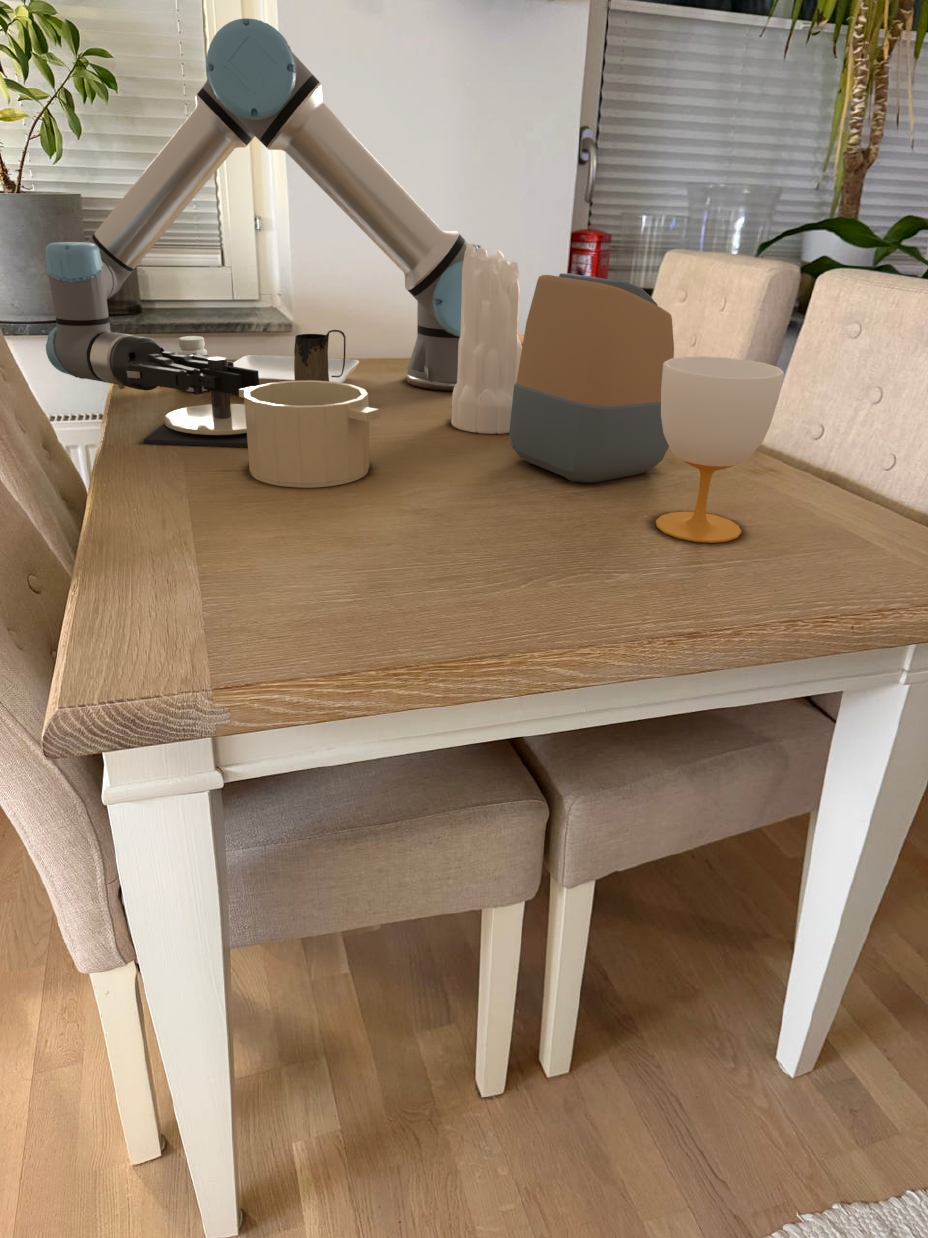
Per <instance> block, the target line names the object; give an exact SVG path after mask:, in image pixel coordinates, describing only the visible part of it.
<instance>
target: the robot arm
mask: <svg viewBox="0 0 928 1238" xmlns="http://www.w3.org/2000/svg"><path fill="white" fill-rule="evenodd" d="M205 69H206V76H207V79H206V80H205V82H204V84H203V85H202V87H201V88H200V90H199V91H198V92H197V93H196V95H195V97H194V98H195V108H194V110H193V111H192V112H191V113H190V114H189V115H188V117H187V118H186V120H185V121H184V122H183V123H182V124H181V125H180V126H179V128H178V129H177V130H176V132H175V133H174V134H173V136H172V137H171V138H170V139H169V140H168V142H167V143H166V144H165V145H164V146H163V148H162V149H161V150H160V151H159V153H158V154H157V155H156V156H155V158H154V159H153V160H152V161H151V162H150V163H149V165H148V166H147V167H146V168H145V170H144V171H143V173H142V174H141V175H139V177H138V179H137V180H136V181H135V183H133V185H132V186H131V187H130V188H129V190H128V191H127V192H126V193H125V195H124V196H123V197H122V198H121V199H120V201H118V202H117V205H116V206H115V207H114V208H113V209H112V210H111V212H110V213H109V214H108V216H107V217H106V218H105V219H104V221H102V223H101V224H100V226H99V227H98V228H97V229H96V230H95V232H94V233H93V235H92V236H90V237H89V238H88V240H86V242H85V241H58V242H50V243H48V244H47V245H46V247H45V258H46V259H45V261H46V266H45V269H46V272H47V275H48V281H49V287H50V291H51V292H50V293H51V297H52V305H53V309H54V315H55V321H56V322H55V325H56V326H55V327H54V328H53V329H52V330H50V332H49V334H48V335H47V340H46V343H45V353H46V356H47V359H48V361H49V362H50V364H51V365H52V367H54V368H55V370H57V371H59V372H61V373H63V374H66V375H69V376H72V377H74V378H79V379H81V380H84V379H85V380H89V381H97V382H103V383H107V384H111V385H117V387H118V389H120V390H123V389H125V387H127V388H130V389H134V390H140V391H146V392H149V391H152V390H155V389H157V388H158V387H159V388H165V389H166V388H167V389H171V390H172V389H173V390H179V391H183V392H184V391H185V390H188V389H189V388H188V387H190V388H194V392H193V394H194V395H202V394H203V392H202V386H203V387H204V389H207V391H210V390H212V391H217V392H223V393H228V394H230V395H234V396H238V397H239V389H242V388H246V387H251V386H253V387H254V386H258V385H259V376H258V371H256V370H251V369H245V368H239V367H234V365H233V362H234V361H230V360H227V365H228V372H225V371H219V370H213V369H208V358H210V357H211V356H208V357H206V356H202V355H200V354H198V353H192V354H191V355H190V356H186V355H178V353H175V351H169V350H167V351H166V350H165V349H164V348H163V346H162V345H161V344H160V343H159V342H158V341H157V340H155V339H153V338H150V337H145V336H138V335H133V334H130V333H129V334H128V333H122V332H116V331H115V332H114V331H111V323H110V322H111V321H110V315H109V308H108V307H109V306H108V300H110V299H112V298H113V297H114V296H115V295H116V294H117V293H118V292H120V290H121V289H122V286H123V284H124V282H125V281H126V280H127V279H128V277H129V276H130V275H131V274H132V273H133V271H134V270H135V268H136V267H137V266H139V264H140V263H141V262H142V260H143V259H144V258H145V257H146V256H147V255H148V253H149V252H150V251H151V249H152V248H153V247H154V246H155V245H156V244H157V242H159V240H160V239H161V237H163V235H164V234H165V233H166V232H167V230H168V229H170V227H171V226H172V225H173V223H174V222H175V221H176V220H177V218H178V217H179V216H180V215H181V214H182V213H183V211H184V210H185V209H186V208H187V206H188V205H189V204H191V202H192V200H193V199H194V198H195V197H196V196H197V195H198V193H199V192H200V191H201V190H202V189H203V187H204V186H205V185H206V184H207V183H208V182H209V180H211V178H212V177H213V176H214V174H215V173H216V172H217V171H218V169H220V167H221V166H222V165H223V164H224V163H225V161H226V160H227V159H228V158H229V156H230V155H231V154H232V153H233V152H234V150H235V149H237V148H239V149H240V148H246V147H247V146H248V145H249V144H250V142H252V140H253V139H254V138H256V139H257V140H258V141H259V142H260V143H261V144H262V145H263V146H264V147H265V148H266V149H267V150H269V151H283V152H285V153H286V154H287V155H288V156H289V157H290V158H291V159H292V160H293V161H294V162H295V163H296V164H297V166H299V167H300V169H302V171H304V173H305V174H306V175H308V177H309V178H311V179H312V180H313V182H314V183H315V184H316V185H317V186H318V187H319V188H320V189H321V190H322V191H323V192H324V193H325V194H326V195H327V196H328V197H329V198H330V199H331V200H332V201H333V202H334V203H335V204H336V205H337V206H338V207H339V208H340V209H341V210H342V211H343V212H344V213H345V214H346V215H347V216H348V218H350V219H351V220H352V221H353V222H354V223H355V225H356V226H358V227H359V228H360V230H362V232H363V233H364V234H365V235H366V236H367V237H368V238H369V239H370V240H371V241H372V242H373V243H374V244H375V245H376V246H377V247H378V248H379V249H380V250H381V251H382V252H383V253H384V254H385V255H386V256H387V257H388V258H389V259H390V261H392V262H393V263H394V264H395V265H396V267H397V268H399V270H400V271H402V273H403V275H404V288H405V290H406V291H407V292H409V294H410V295H411V296H412V297H413V298H414V299H415V300H416V302H417V306H416V307H417V308H416V311H417V312H416V313H417V318H416V325H417V326H416V327H417V331H416V332H417V333H416V334H417V336H416V340H415V343H414V346H413V350H412V353H411V356H410V360H409V363H408V365H407V370H406V381H407V383H408V384H410V385H411V386H414V387H417V388H422V389H426V390H427V389H428V390H436V391H453V390H454V386H455V384H456V383H457V374H458V343H459V338H460V333H461V296H462V267H463V261H464V255H465V251H466V246H467V245H468V244H469V243H468V242H467V240H466V239H464V237H463V236H462V235H461V234H460V233H459V232H458V231H457V230H444V229H442V228H440V226H439V225H438V224H437V223H436V222H435V221H434V220H433V218H432V217H431V216H429V214H428V213H427V212H426V211H425V210H424V209H423V207H422V206H420V205H419V204H418V202H416V201H415V199H414V198H413V197H412V196H411V195H410V194H409V192H407V191H406V190H405V188H404V187H403V186H402V185H401V184H400V183H399V182H398V181H397V180H396V179H395V178H394V177H393V175H391V174H390V172H389V171H388V170H387V169H386V168H385V167H384V166H383V165H382V164H381V163H380V162H379V160H378V159H377V158H376V157H375V156H374V155H373V154H372V153H371V152H370V150H368V148H366V146H365V145H364V144H363V143H362V142H361V141H360V140H359V139H358V138H357V137H356V136H355V135H354V133H352V131H351V130H350V129H349V128H348V127H347V126H346V125H345V124H344V123H343V122H342V120H340V118H339V117H338V116H336V114H335V113H334V112H333V111H332V110H331V109H330V108H329V107H328V105H326V103H325V101H324V99H323V98H324V97H323V85H322V83H321V82H320V80H318V78H317V77H316V76H315V75H314V73H312V72H311V71H310V70H309V69H308V68H307V66H306V65H305V64H304V63H303V62H302V61H301V59H300V58H298V57H297V56H296V54H295V53H294V52H293V51H292V49H291V46H290V45H289V43H288V41H287V39H286V38H285V37H284V36H283V34H282V33H281V32H279V30H277V29H276V28H275V27H273V26H272V25H271V24H269V23H268V22H264V21H262V20H259V19H257V18H246V17H245V18H244V17H243V18H238V19H234V20H232V21H229V22H227V23H226V24H224V25H223V26H222V27H221V28H220V29H218V30H217V32H216V33H215V35H214V36H213V38H212V39H211V42H210V44H209V47H208V50H207V54H206V60H205ZM471 244H472V245H473V246H474V247H475V248H476V251H477V249H478V248H480V247H482V248H484V249H485V247H484V246H483V245H481V244H473V243H471ZM185 392H186V391H185Z"/></svg>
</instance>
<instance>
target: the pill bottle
mask: <svg viewBox="0 0 928 1238" xmlns="http://www.w3.org/2000/svg"><path fill="white" fill-rule="evenodd" d="M178 346H179V348H180V349H179V350H178V351H177V354H178V355H186V356H190V355H191V354H192V353H198V354H200V355H202V356H206V357H209V354H208V351H207V349H206V348H204V347H205V339H204V337H203V336H198V335H187V336H181V337H179V338H178ZM188 388H189V389H188V390H185V392H189V393H194V388H190V387H188ZM203 392H208V390H207V389H204V387H203V386H202V393H203Z"/></svg>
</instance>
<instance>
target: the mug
mask: <svg viewBox="0 0 928 1238" xmlns="http://www.w3.org/2000/svg"><path fill="white" fill-rule="evenodd" d="M330 333H339V334H341V336H342V337H343V358H342V359H343V369H342V374H343V371H344V367H345V359H346V345H347V344H346V343H347V342H346V339H347V338H346V334H345V333H344V332H343V331H342V330H340V329H331V330H329V331H328V332H327V333H326V334H324V333H323V334H322V333H302V334H300V333H299V334H296V335H295V338H294V349H293V350H294V351H293V355H294V356H293V357H294V376H295V381H308V380H313V381H329V374H328V358H329V339H330V338H329V337H330ZM342 374H341V375H339V376H331V377H338V378H339V377H340V376H342Z"/></svg>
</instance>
